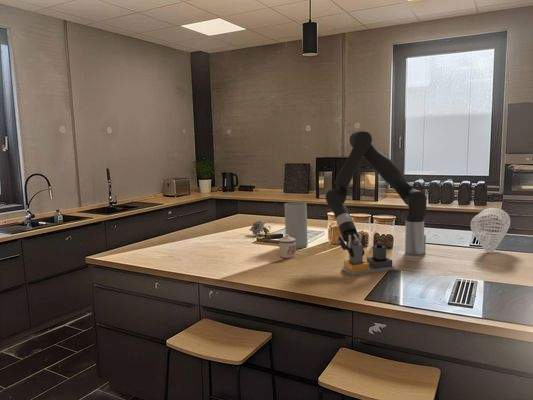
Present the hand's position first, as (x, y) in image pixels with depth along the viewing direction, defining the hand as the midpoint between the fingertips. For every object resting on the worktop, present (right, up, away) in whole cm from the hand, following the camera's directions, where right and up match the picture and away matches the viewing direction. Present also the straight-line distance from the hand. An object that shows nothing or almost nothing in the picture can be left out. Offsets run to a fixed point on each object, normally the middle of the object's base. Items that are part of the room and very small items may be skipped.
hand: (357, 255), depth 192 cm
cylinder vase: (-24, -2, +52) cm, 57 cm away
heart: (+72, -2, +23) cm, 76 cm away
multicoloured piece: (+6, -7, +5) cm, 10 cm away
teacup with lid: (-29, -4, +34) cm, 45 cm away
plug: (0, -4, +2) cm, 5 cm away
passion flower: (-46, +2, +85) cm, 97 cm away
